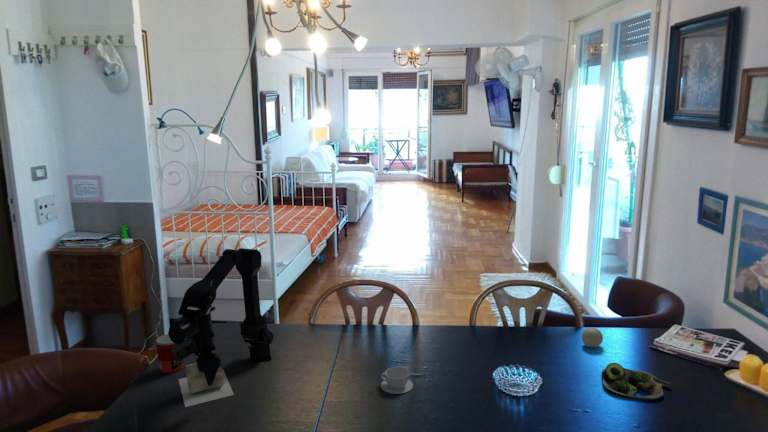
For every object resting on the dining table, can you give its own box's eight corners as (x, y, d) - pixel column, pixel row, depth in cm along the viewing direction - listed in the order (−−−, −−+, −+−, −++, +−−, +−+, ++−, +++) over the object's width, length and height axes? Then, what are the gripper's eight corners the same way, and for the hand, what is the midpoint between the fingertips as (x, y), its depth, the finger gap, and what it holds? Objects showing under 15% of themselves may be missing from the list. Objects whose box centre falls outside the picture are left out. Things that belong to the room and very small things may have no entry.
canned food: (176, 375, 179) (172, 344, 177) (154, 373, 181) (150, 342, 178) (189, 364, 186) (185, 334, 184) (168, 362, 188) (164, 332, 185)
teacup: (416, 380, 172) (416, 367, 171) (407, 397, 163) (407, 383, 162) (386, 376, 175) (386, 362, 174) (376, 392, 166) (375, 378, 165)
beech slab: (222, 384, 172) (218, 357, 173) (223, 385, 169) (220, 359, 170) (188, 392, 168) (185, 365, 169) (189, 394, 165) (186, 366, 166)
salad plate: (665, 376, 172) (667, 362, 171) (676, 407, 155) (678, 392, 154) (599, 368, 177) (600, 355, 176) (603, 397, 161) (604, 383, 160)
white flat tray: (223, 369, 182) (222, 368, 182) (234, 395, 166) (233, 394, 166) (178, 380, 176) (178, 379, 176) (185, 408, 160) (185, 407, 160)
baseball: (606, 346, 191) (608, 329, 190) (593, 352, 187) (595, 334, 186) (590, 339, 197) (591, 322, 195) (577, 345, 193) (578, 327, 191)
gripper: (169, 323, 164) (175, 371, 168) (176, 348, 148) (182, 400, 151) (207, 316, 169) (212, 362, 173) (218, 339, 153) (224, 390, 156)
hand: (207, 378), depth 163 cm, fingers open, 9 cm apart
